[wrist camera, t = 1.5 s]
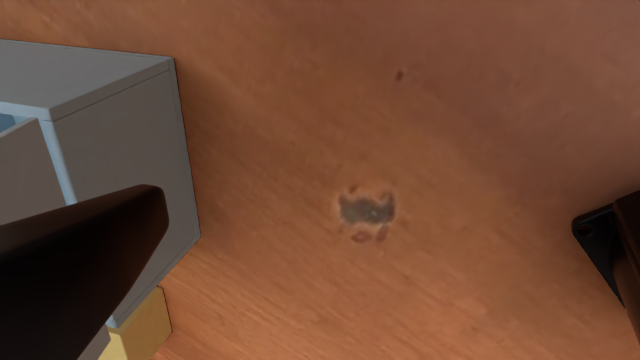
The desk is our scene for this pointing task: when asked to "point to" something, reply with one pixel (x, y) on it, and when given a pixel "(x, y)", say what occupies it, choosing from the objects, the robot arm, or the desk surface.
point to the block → (140, 331)
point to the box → (107, 134)
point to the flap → (33, 190)
